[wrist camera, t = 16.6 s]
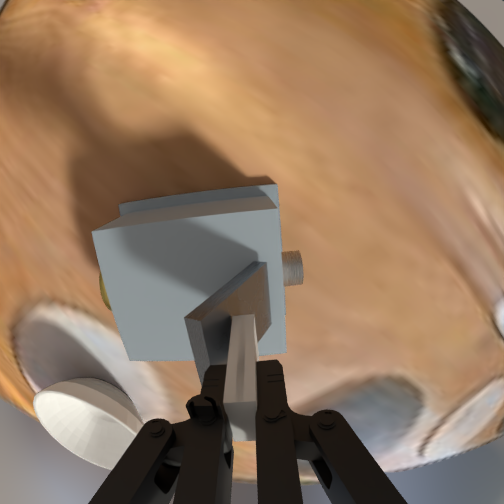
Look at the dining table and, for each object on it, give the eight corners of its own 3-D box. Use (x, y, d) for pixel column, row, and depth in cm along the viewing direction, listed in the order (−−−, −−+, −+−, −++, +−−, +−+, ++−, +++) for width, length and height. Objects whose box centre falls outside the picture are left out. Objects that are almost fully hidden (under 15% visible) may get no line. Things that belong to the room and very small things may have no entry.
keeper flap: (202, 390, 15) (217, 395, 14) (183, 317, 13) (200, 321, 13) (259, 322, 22) (271, 324, 21) (253, 261, 20) (266, 262, 20)
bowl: (76, 331, 32) (48, 367, 24) (186, 410, 37) (179, 454, 29) (44, 388, 36) (24, 417, 28) (130, 447, 40) (120, 480, 33)
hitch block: (148, 321, 32) (124, 368, 23) (122, 203, 27) (79, 220, 19) (284, 310, 32) (298, 360, 23) (276, 183, 28) (291, 192, 19)
